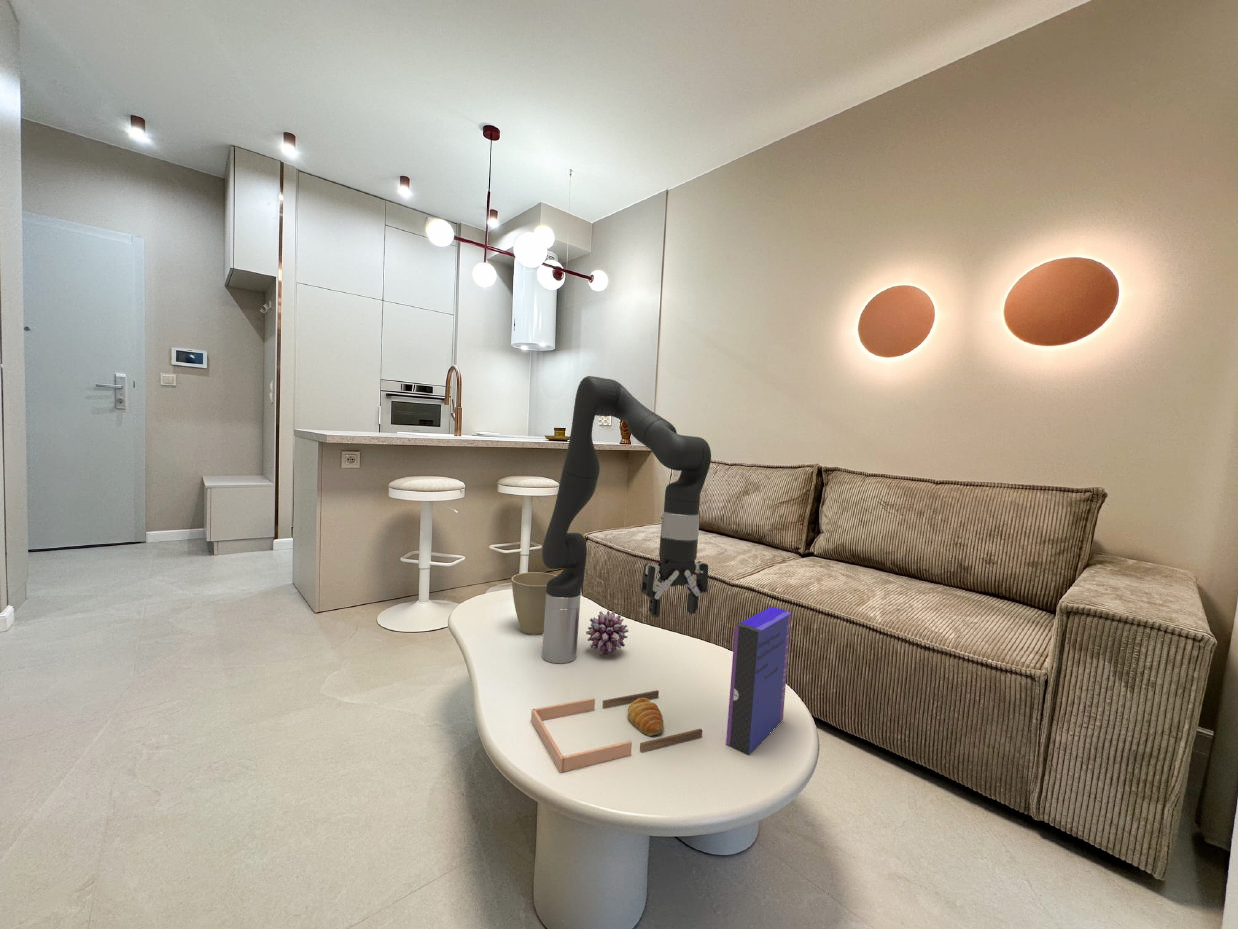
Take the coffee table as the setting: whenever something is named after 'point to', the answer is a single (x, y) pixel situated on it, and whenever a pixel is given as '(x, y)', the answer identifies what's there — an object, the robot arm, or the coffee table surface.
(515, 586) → the plant pot
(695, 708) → the coffee table surface
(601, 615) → the purple spiky ball
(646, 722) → the pastry
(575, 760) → the terracotta pen
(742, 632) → the cereal box
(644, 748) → the walnut chute
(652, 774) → the coffee table surface
